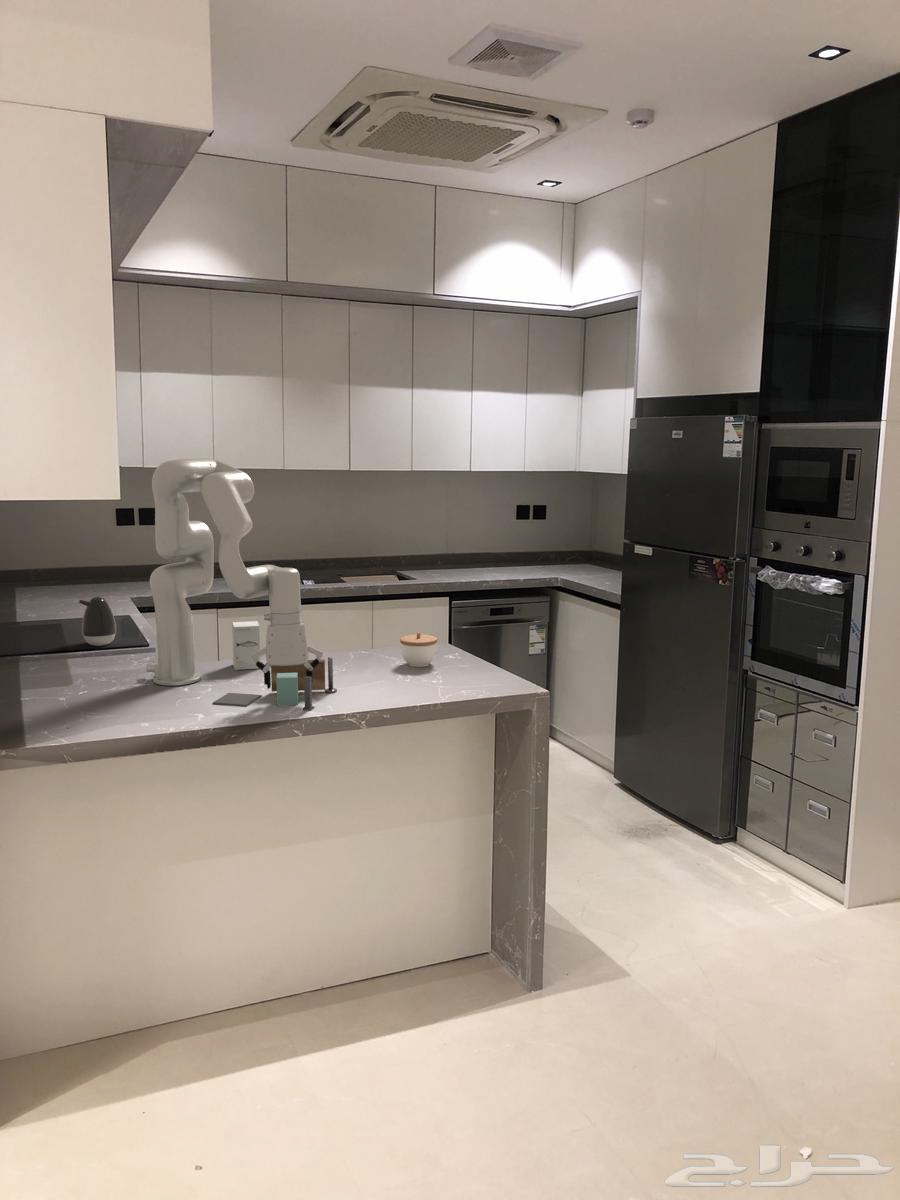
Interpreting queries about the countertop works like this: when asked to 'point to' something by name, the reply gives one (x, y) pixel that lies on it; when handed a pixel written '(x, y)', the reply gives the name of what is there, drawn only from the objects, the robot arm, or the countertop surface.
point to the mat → (237, 699)
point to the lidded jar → (418, 649)
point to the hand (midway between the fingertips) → (288, 686)
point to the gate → (301, 675)
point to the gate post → (330, 677)
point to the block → (287, 689)
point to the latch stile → (308, 693)
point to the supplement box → (245, 644)
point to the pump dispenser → (98, 622)
